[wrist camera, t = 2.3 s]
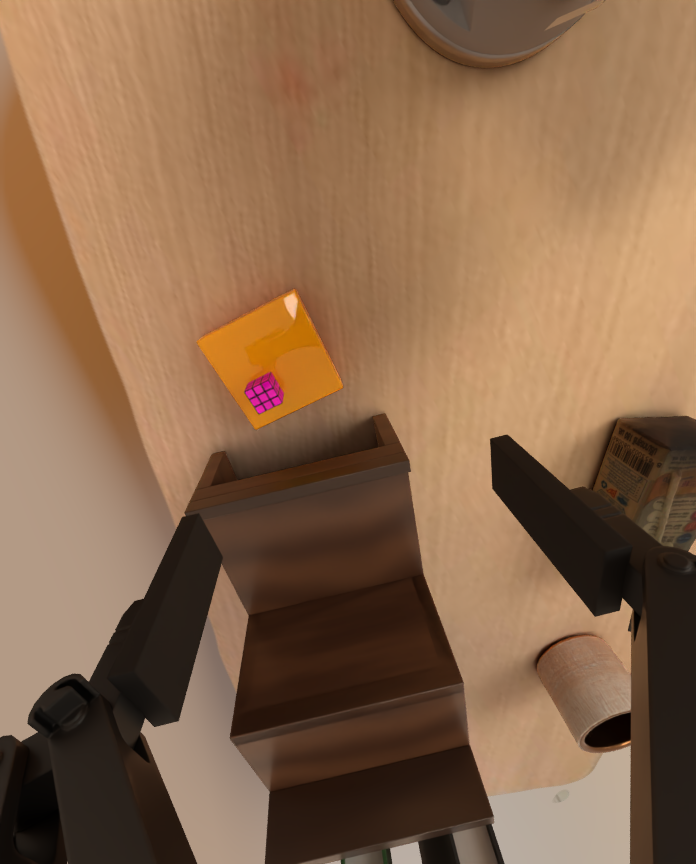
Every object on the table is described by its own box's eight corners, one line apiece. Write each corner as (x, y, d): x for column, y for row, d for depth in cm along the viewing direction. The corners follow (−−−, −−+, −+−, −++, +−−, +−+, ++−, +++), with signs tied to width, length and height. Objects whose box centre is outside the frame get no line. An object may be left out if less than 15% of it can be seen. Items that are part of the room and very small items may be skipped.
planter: (619, 638, 52) (681, 713, 44) (572, 681, 56) (620, 757, 48) (565, 625, 49) (620, 703, 41) (519, 671, 53) (560, 750, 45)
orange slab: (203, 335, 27) (186, 348, 23) (295, 287, 26) (293, 292, 23) (258, 419, 31) (252, 442, 27) (341, 379, 30) (346, 397, 26)
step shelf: (211, 453, 32) (92, 707, 14) (385, 413, 32) (487, 613, 14) (284, 615, 42) (269, 877, 24) (414, 584, 42) (494, 823, 25)
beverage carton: (562, 559, 43) (603, 607, 37) (611, 414, 35) (674, 446, 29) (623, 553, 44) (672, 599, 38) (686, 409, 35) (762, 440, 29)
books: (321, 638, 45) (350, 1303, 16) (435, 619, 46) (652, 1222, 17) (342, 742, 57) (379, 1226, 29) (432, 726, 58) (555, 1180, 30)
